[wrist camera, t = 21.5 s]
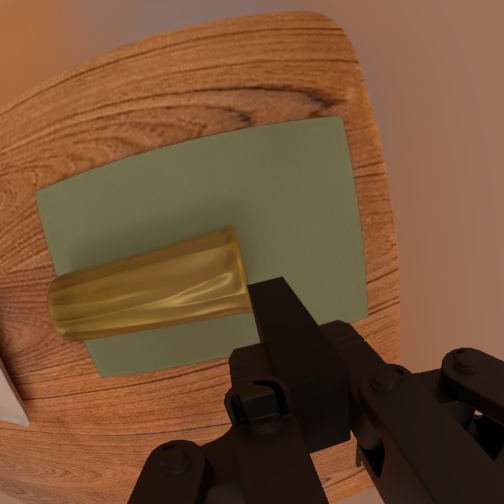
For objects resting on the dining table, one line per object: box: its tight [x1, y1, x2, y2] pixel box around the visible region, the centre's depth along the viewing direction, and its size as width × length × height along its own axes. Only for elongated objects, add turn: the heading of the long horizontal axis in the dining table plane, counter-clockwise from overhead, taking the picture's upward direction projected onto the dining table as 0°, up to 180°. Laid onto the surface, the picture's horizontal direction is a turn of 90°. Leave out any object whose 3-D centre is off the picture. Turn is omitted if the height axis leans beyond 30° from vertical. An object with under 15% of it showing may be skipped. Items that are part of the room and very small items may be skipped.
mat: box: [35, 116, 368, 378], centre depth 23 cm, size 26×18×1 cm
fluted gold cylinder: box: [47, 224, 253, 342], centre depth 20 cm, size 6×6×14 cm
